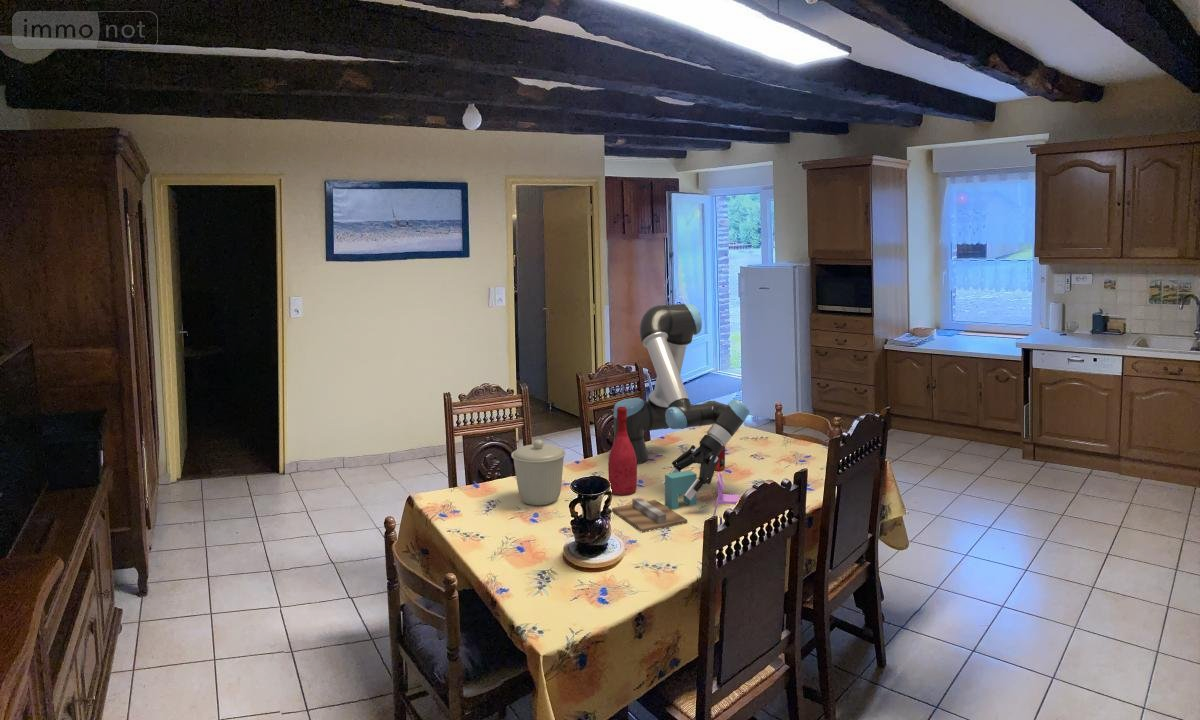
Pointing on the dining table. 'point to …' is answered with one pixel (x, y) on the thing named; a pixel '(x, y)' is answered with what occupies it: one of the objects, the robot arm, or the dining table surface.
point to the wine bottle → (622, 459)
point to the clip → (679, 488)
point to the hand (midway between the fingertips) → (676, 491)
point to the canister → (539, 472)
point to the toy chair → (724, 497)
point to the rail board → (645, 519)
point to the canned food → (721, 461)
